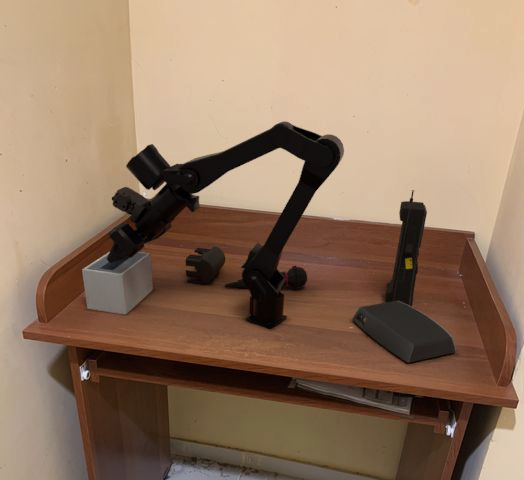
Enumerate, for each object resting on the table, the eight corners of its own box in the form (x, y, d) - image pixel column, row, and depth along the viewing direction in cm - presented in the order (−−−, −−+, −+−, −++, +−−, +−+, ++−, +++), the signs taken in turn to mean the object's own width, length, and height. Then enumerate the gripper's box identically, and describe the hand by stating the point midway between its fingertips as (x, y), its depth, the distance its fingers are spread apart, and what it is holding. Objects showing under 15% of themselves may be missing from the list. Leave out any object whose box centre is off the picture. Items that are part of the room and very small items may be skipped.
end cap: (213, 287, 125) (213, 260, 122) (185, 283, 127) (184, 256, 123) (225, 272, 134) (225, 247, 131) (199, 269, 135) (199, 243, 132)
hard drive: (398, 313, 117) (401, 296, 115) (458, 354, 102) (463, 335, 100) (349, 321, 112) (351, 304, 110) (404, 365, 97) (408, 346, 95)
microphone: (226, 302, 125) (308, 292, 126) (224, 283, 121) (309, 274, 122) (225, 287, 129) (305, 278, 130) (222, 269, 125) (305, 259, 125)
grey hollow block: (150, 253, 118) (113, 248, 120) (122, 274, 106) (81, 269, 108) (152, 289, 122) (117, 285, 124) (125, 314, 111) (87, 308, 112)
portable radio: (412, 311, 118) (434, 200, 106) (385, 308, 119) (404, 197, 107) (410, 297, 125) (431, 191, 112) (385, 294, 126) (403, 189, 113)
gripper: (154, 167, 111) (112, 213, 118) (113, 185, 95) (67, 237, 102) (191, 208, 113) (147, 251, 121) (156, 232, 97) (108, 280, 105)
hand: (118, 253), depth 112 cm, fingers open, 9 cm apart
